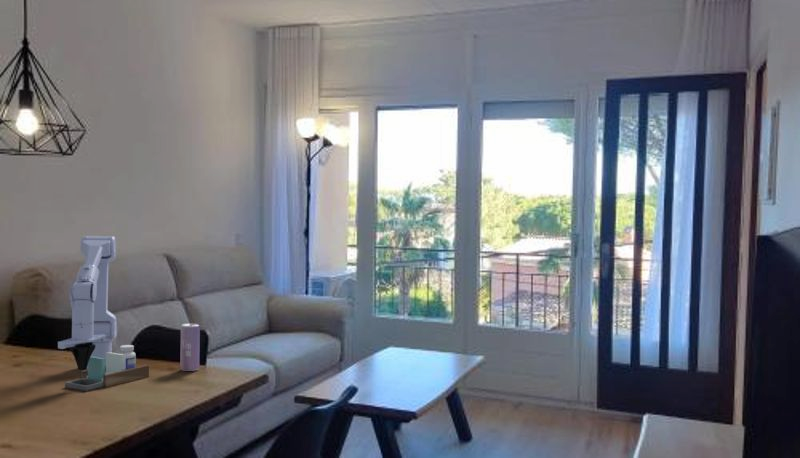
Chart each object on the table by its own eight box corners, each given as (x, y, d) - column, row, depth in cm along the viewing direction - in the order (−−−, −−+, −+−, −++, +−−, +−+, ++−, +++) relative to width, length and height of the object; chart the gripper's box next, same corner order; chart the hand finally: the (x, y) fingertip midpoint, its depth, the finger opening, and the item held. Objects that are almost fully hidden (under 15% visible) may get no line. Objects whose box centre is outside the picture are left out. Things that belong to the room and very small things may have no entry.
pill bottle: (112, 377, 206) (113, 346, 206) (127, 374, 211) (127, 343, 211) (124, 379, 203) (125, 348, 203) (139, 376, 208) (139, 345, 208)
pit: (64, 387, 193) (64, 382, 193) (82, 383, 198) (82, 378, 198) (85, 391, 189) (86, 386, 189) (103, 387, 194) (103, 382, 194)
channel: (80, 382, 199) (80, 371, 199) (124, 372, 213) (124, 361, 213) (106, 387, 194) (106, 375, 194) (148, 376, 208) (149, 365, 208)
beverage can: (202, 368, 220) (202, 323, 220) (194, 372, 215) (195, 326, 214) (184, 367, 221) (185, 323, 221) (177, 371, 215) (177, 325, 215)
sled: (86, 382, 198) (86, 356, 198) (109, 376, 206) (109, 352, 205) (102, 385, 195) (103, 359, 195) (125, 379, 202) (125, 354, 202)
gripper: (69, 327, 184) (69, 376, 185) (113, 321, 197) (112, 366, 198) (53, 325, 188) (52, 373, 188) (97, 319, 200) (96, 363, 201)
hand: (82, 369), depth 193 cm, fingers closed
